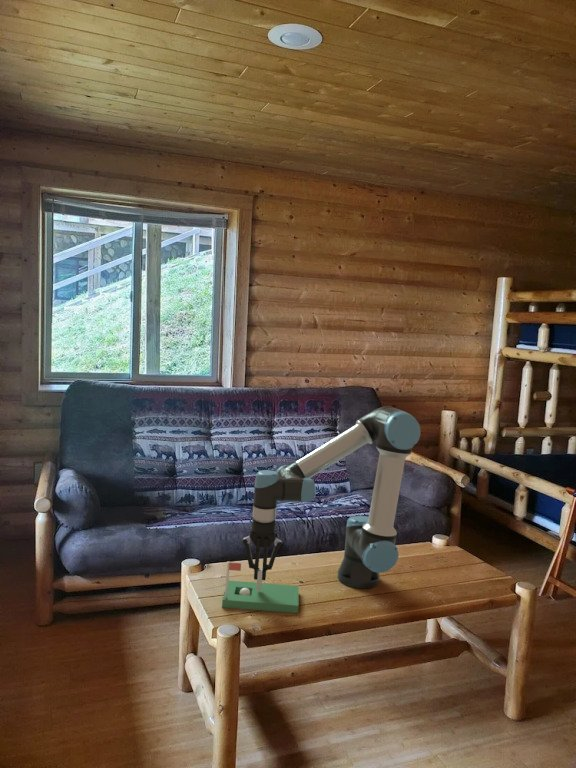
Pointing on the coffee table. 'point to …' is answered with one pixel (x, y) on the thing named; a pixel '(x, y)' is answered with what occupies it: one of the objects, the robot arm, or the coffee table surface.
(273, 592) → the green
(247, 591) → the ball
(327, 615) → the coffee table surface
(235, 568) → the pin
